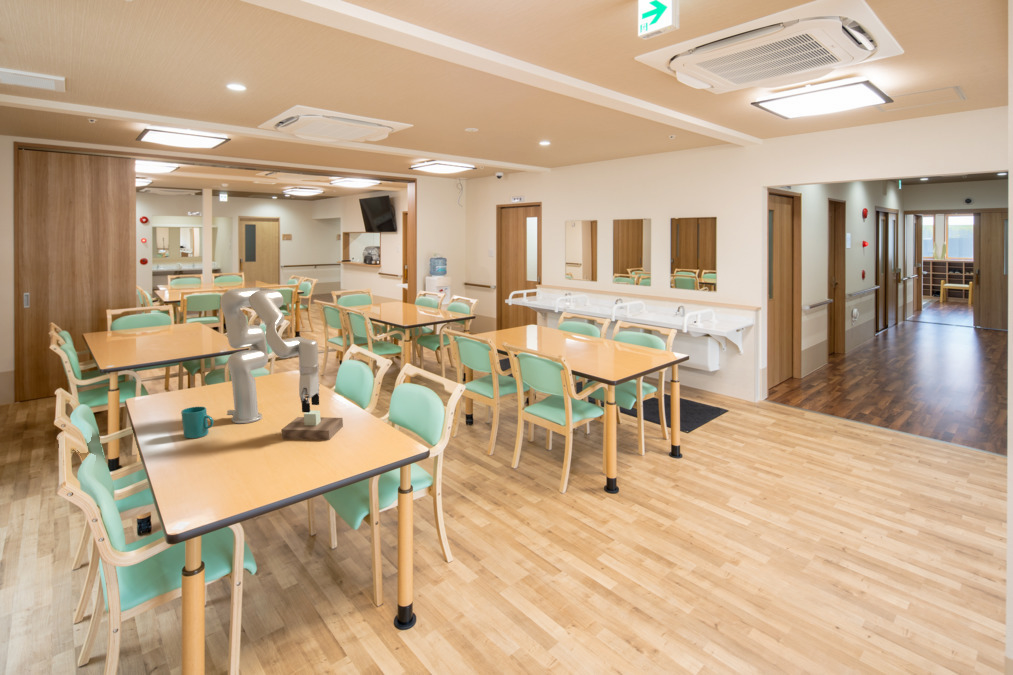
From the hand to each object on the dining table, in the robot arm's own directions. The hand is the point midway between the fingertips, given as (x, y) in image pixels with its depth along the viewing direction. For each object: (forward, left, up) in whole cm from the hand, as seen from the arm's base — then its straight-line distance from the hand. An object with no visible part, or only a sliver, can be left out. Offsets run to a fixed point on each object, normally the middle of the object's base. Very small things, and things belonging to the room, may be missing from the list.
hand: (310, 408), depth 226 cm
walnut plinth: (+1, 0, -11) cm, 11 cm away
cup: (-45, -6, -11) cm, 47 cm away
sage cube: (0, 0, -7) cm, 7 cm away
